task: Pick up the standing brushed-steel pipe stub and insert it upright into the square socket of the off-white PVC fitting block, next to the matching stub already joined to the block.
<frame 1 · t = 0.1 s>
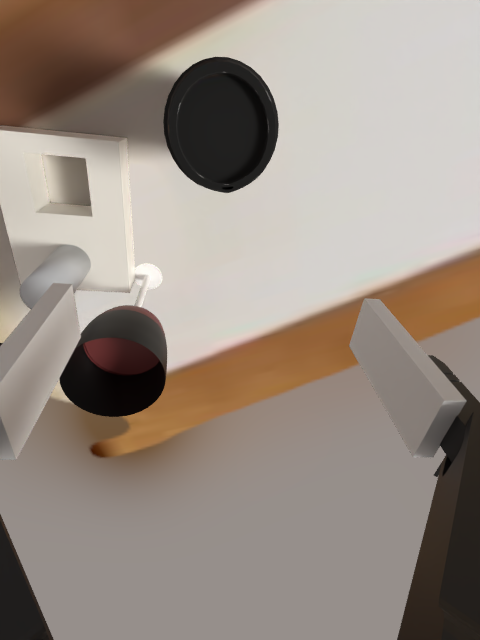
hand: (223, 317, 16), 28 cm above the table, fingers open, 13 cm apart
socket block: (77, 211, 40), on the table
wineglass: (148, 274, 46), on the table, touching socket block
coffee cup: (217, 120, 37), on the table
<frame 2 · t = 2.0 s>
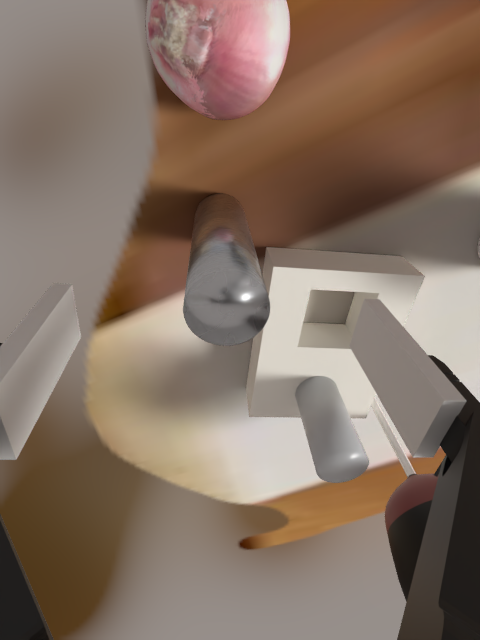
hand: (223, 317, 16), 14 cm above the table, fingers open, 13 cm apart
socket block: (315, 329, 34), on the table
wineglass: (364, 385, 40), on the table, touching socket block
pipe: (220, 219, 28), on the table
red onion: (218, 45, 22), on the table
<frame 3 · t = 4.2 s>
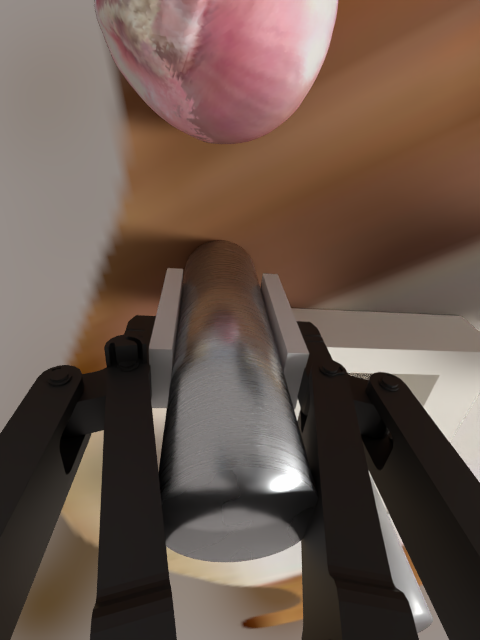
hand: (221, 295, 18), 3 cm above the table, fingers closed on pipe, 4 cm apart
socket block: (343, 402, 27), on the table
pipe: (220, 274, 20), on the table, touching gripper
red onion: (216, 30, 15), on the table
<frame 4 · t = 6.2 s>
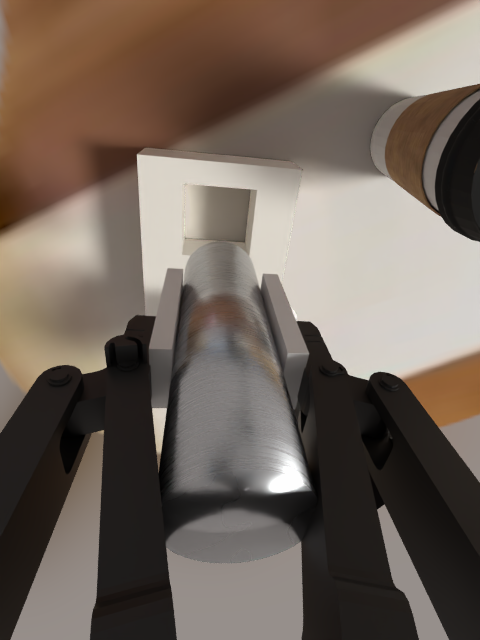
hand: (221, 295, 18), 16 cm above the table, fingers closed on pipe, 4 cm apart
socket block: (214, 247, 33), on the table
pipe: (219, 274, 20), point 13 cm above the table, touching gripper
coffee cup: (403, 139, 30), on the table
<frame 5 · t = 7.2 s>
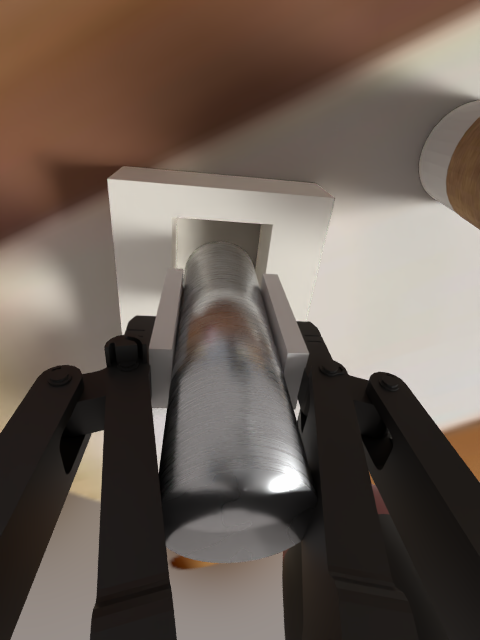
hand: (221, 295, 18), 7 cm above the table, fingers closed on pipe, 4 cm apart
socket block: (214, 289, 26), on the table
wineglass: (293, 367, 32), on the table, touching socket block
pipe: (219, 275, 20), point 5 cm above the table, touching gripper
coffee cup: (462, 154, 23), on the table
when the fingers open (5 cm above the table, at t = 8.2 s): pipe drops 2 cm, resting in socket block.
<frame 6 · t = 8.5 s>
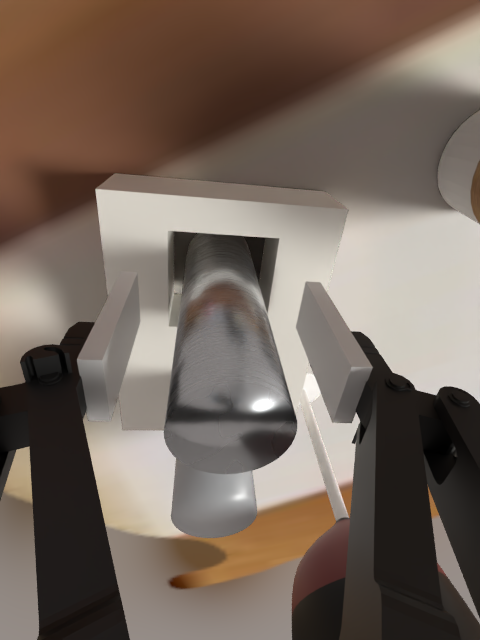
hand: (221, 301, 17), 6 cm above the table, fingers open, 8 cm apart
socket block: (215, 304, 24), on the table
wineglass: (299, 384, 30), on the table, touching socket block
pipe: (218, 256, 22), resting in socket block
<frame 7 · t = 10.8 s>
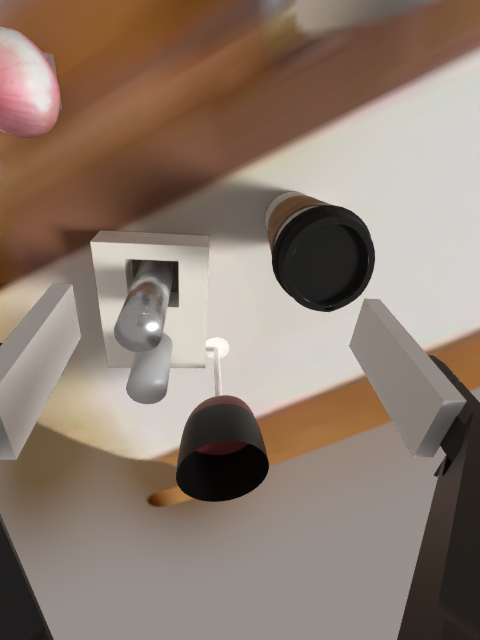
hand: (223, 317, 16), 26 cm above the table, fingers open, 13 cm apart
socket block: (158, 296, 44), on the table
wineglass: (216, 345, 49), on the table, touching socket block
pipe: (157, 270, 42), resting in socket block
red onion: (29, 87, 32), on the table
coffee cup: (290, 217, 41), on the table
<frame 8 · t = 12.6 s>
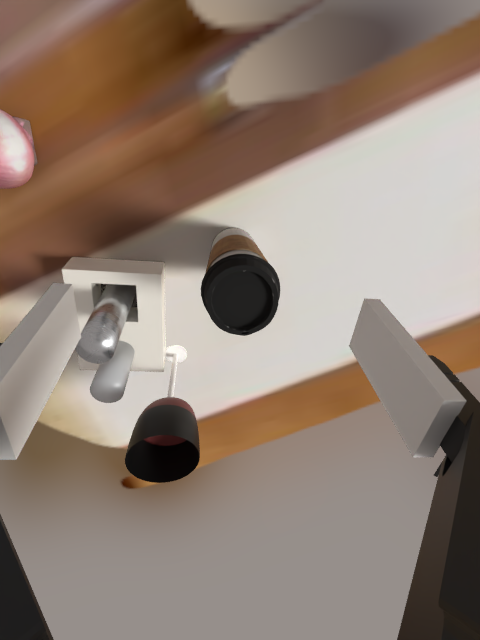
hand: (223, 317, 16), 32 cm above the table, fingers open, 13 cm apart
socket block: (123, 310, 52), on the table
wineglass: (176, 351, 57), on the table, touching socket block
pipe: (121, 289, 50), resting in socket block
red onion: (10, 145, 40), on the table
coffee cup: (233, 248, 48), on the table
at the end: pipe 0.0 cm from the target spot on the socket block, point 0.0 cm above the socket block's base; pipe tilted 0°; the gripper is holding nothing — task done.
